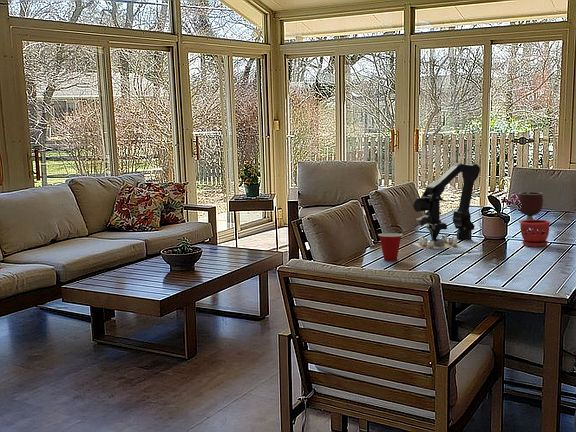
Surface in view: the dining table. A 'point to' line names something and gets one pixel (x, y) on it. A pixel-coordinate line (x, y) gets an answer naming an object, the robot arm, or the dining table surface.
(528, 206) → the mate gourd
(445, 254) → the mat
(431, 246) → the steel spacers
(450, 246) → the board
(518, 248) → the dining table surface
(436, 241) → the dark grey hexagonal block
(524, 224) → the plant pot
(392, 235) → the plastic cup
